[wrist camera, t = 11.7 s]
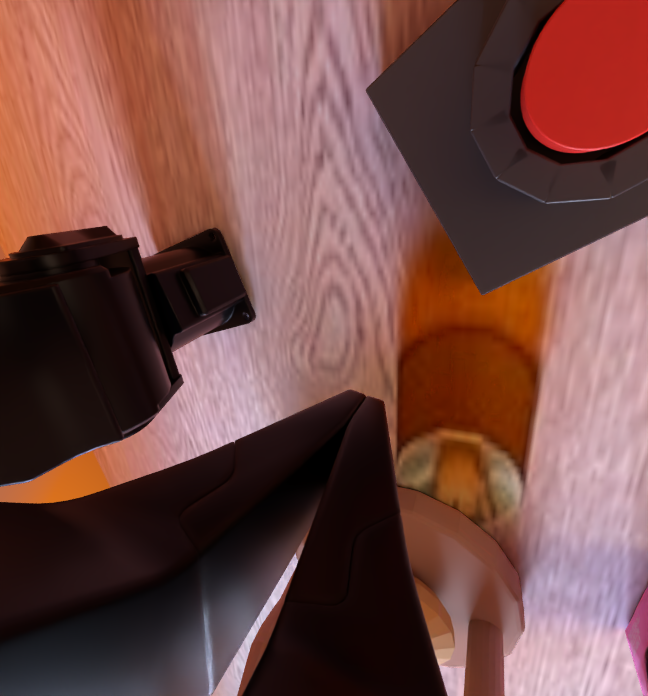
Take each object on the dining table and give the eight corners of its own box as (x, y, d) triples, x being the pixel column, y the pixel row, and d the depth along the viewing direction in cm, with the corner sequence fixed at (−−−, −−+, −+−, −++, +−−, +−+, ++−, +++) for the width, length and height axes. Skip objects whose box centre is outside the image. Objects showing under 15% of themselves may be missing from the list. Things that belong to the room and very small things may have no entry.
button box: (483, 282, 18) (480, 310, 15) (380, 99, 17) (348, 79, 13) (846, 100, 12) (1008, 68, 8) (729, -225, 10) (862, -451, 7)
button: (553, 180, 12) (561, 181, 11) (497, 69, 12) (497, 53, 10) (708, 87, 10) (749, 72, 8) (650, -54, 9) (681, -100, 8)
